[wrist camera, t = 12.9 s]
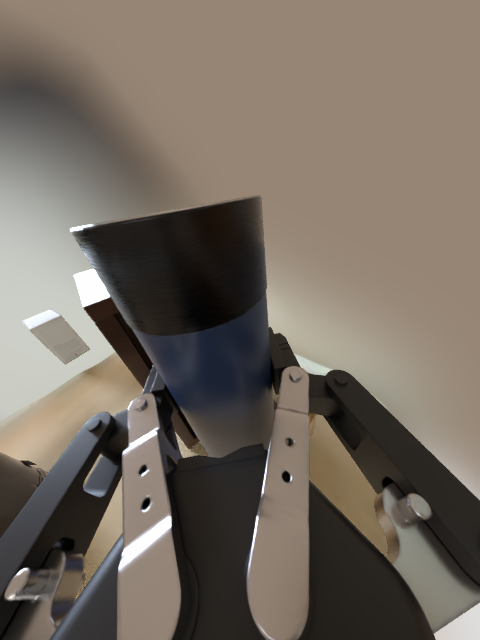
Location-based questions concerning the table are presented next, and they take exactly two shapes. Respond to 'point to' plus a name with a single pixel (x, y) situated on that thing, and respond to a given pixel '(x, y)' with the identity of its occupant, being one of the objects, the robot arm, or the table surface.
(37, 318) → the small box
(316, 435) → the table surface
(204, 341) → the thermos
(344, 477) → the table surface
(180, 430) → the cubby
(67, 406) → the table surface
